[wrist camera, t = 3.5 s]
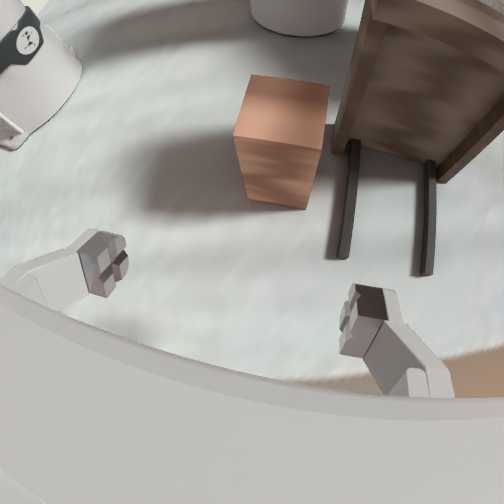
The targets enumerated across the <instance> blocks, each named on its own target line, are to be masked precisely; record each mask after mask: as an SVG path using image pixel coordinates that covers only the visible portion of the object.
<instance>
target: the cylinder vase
mask: <svg viewBox="0 0 504 504" xmlns="http://www.w3.org/2000/svg"><path fill="white" fill-rule="evenodd" d="M347 3H348V0H250V7H251V14H252V16H253V18H254V19H255V20H256V21H257V22H258V23H259V24H260V25H262V26H263V27H265V28H267V29H269V30H272V31H274V32H278V33H281V34H286V35H292V36H318V35H324V34H327V33H330V32H333V31H335V30H336V29H338V28H339V27H340V26H341V25H342V24H343V22H344V20H345V15H346V9H347Z"/></svg>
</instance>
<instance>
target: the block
mask: <svg viewBox="0 0 504 504" xmlns="http://www.w3.org/2000/svg"><path fill="white" fill-rule="evenodd" d="M329 87H330V86H326V85H321V84H315V83H310V82H304V81H297V80H291V79H284V78H276V77H268V76H258V75H251V78H250V81H249V84H248V87H247V90H246V93H245V97H244V100H243V103H242V106H241V109H240V113H239V116H238V119H237V122H236V126H235V129H234V132H233V139H234V143H235V148H236V152H237V156H238V160H239V164H240V168H241V173H242V177H243V181H244V185H245V189H246V194H247V198H248V199H249V200H255V201H260V202H266V203H272V204H277V205H282V206H288V207H293V208H298V209H303V210H306V207H307V204H308V200H309V196H310V193H311V189H312V185H313V182H314V178H315V174H316V170H317V166H318V162H319V159H320V155H321V151H322V144H323V137H324V129H325V121H326V113H327V105H328V96H329Z"/></svg>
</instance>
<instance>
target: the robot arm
mask: <svg viewBox="0 0 504 504" xmlns="http://www.w3.org/2000/svg"><path fill="white" fill-rule="evenodd" d="M75 56H76V50H75V49H74V48H73V47H72V46H69V47H67V46H66V45H65V44H64V43H63V42H62V41H61V40H60V39H59V38H58V36H57V35H56V34H55V33H54V32H53V31H52V30H51V29H50V28H49V27H48V26H47V25H40V21H39V19H38V18H37V16H36V14H35V13H34V11H32V10H31V9H30V7H28V6H24V5H23V4H22V2H21V1H20V0H0V145H2V146H5V147H7V148H10V149H13V150H15V149H17V148H18V147H19V146H20V145H21V144H22V143H23V142H24V141H25V140H26V138H27V137H28V136H29V135H30V134H31V133H32V132H33V131H35V130H36V129H37V128H39V127H40V126H41V125H43V124H44V123H45V122H46V121H48V120H49V119H50V118H51V117H52V116H53V115H54V114H55V113H56V112H57V111H58V110H59V109H60V108H61V107H62V105H63V104H64V103H65V102H66V101H67V99H68V98H69V97H70V95H71V94H72V92H73V91H74V89H75V87H76V86H77V84H78V81H79V79H80V76H81V73H82V64H81V62H80V61H79V60H78V59H77V58H76V57H75ZM125 247H126V241H125V238H124V237H123V236H122V235H118V234H114V233H110V232H106V231H101V230H97V229H93V228H92V229H88V230H87V231H86V232H84V233H83V234H82V235H81V236H80V237H79V238H77V239H76V240H75V241H74V242H73V243H72V244H71V245H69V246H68V247H67V248H66V249H60V250H57V251H54V252H51V253H49V254H46V255H43V256H40V257H38V258H35V259H32V260H30V261H27V262H24V263H22V264H19V265H17V266H14V267H13V268H12V269H11V270H10V271H9V272H8V273H7V274H6V275H5V276H4V277H3V278H2V279H0V504H504V397H498V398H455V396H454V391H453V386H452V382H451V377H450V373H449V370H448V369H447V367H446V366H445V365H444V364H443V363H442V362H441V361H440V360H439V358H438V357H437V356H436V355H435V354H434V353H433V352H432V351H431V349H430V348H429V347H428V346H427V345H426V344H425V343H424V342H423V341H422V340H421V338H420V337H419V336H418V335H417V334H416V333H415V332H414V331H413V330H412V329H411V328H410V327H409V325H408V324H404V323H403V319H402V314H401V310H400V306H399V302H398V298H397V294H396V291H395V290H392V289H385V288H377V287H371V286H366V285H360V284H355V283H353V284H352V286H351V287H350V290H349V300H348V301H346V302H345V303H344V306H343V308H342V312H341V316H340V330H341V332H342V334H341V337H340V339H339V343H340V352H339V354H342V355H347V356H353V357H359V358H363V360H364V362H365V364H366V366H367V367H368V369H369V371H370V372H371V374H372V376H373V377H374V379H375V381H376V382H377V384H378V386H379V388H380V389H381V391H382V393H383V395H380V394H369V393H361V392H352V391H344V390H336V389H328V388H323V387H316V386H310V385H304V384H298V383H292V382H287V381H282V380H277V379H271V378H267V377H262V376H257V375H253V374H248V373H244V372H239V371H235V370H231V369H227V368H223V367H219V366H215V365H211V364H207V363H203V362H200V361H196V360H193V359H189V358H185V357H182V356H179V355H175V354H172V353H168V352H165V351H162V350H159V349H156V348H152V347H149V346H146V345H143V344H140V343H137V342H134V341H131V340H129V339H126V338H123V337H120V336H117V335H114V334H112V333H109V332H106V331H104V330H101V329H98V328H96V327H93V326H91V325H88V324H86V323H83V322H81V321H78V320H76V319H73V318H71V317H69V316H66V315H64V314H61V313H59V311H60V310H62V309H64V308H66V307H67V306H69V305H71V304H72V303H74V302H76V301H78V300H79V299H81V298H83V297H85V296H86V295H88V294H89V293H92V294H95V295H98V296H102V297H105V298H107V297H108V296H109V295H110V294H111V292H112V291H113V290H114V289H115V287H116V282H117V281H120V280H122V279H123V277H124V276H125V275H126V272H127V270H128V264H129V260H128V255H127V254H126V253H125V251H124V249H125Z"/></svg>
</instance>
